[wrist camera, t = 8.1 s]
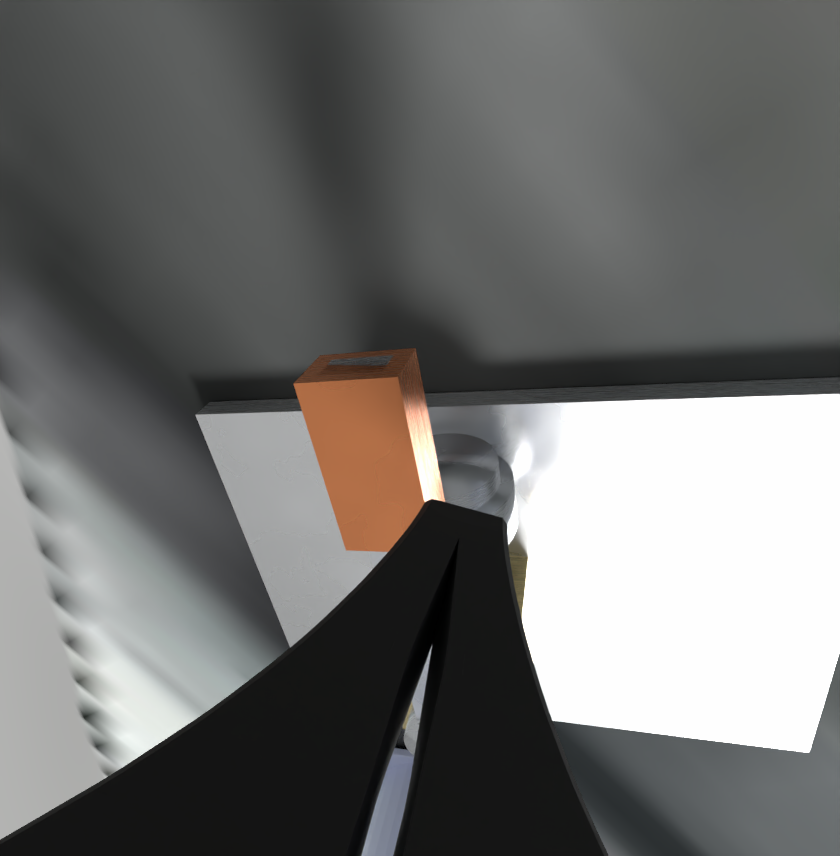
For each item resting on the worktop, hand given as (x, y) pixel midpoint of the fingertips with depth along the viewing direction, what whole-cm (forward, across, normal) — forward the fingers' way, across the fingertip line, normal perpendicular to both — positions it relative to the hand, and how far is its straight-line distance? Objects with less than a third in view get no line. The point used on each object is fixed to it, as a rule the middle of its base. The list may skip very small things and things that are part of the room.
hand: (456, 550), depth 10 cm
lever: (+3, +1, +5) cm, 6 cm away
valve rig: (+9, -2, +9) cm, 13 cm away
